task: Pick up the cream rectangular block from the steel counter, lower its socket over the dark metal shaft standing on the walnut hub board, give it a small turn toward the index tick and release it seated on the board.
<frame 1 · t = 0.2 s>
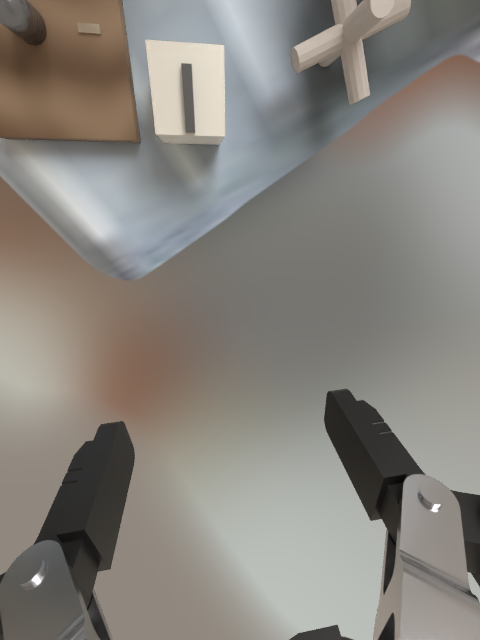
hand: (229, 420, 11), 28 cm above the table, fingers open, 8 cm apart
shaft: (29, 24, 23), resting on hub board
hub board: (59, 65, 26), on the table
pipe connector: (324, 56, 28), on the table
cream rectangular block: (190, 110, 29), on the table
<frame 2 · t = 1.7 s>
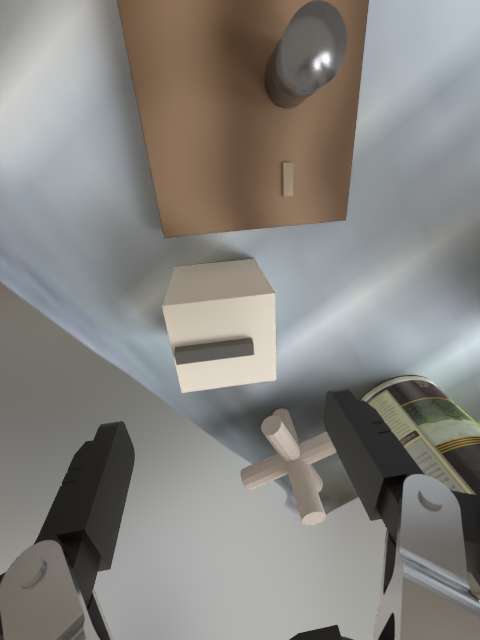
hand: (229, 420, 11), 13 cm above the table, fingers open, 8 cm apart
shaft: (288, 78, 14), resting on hub board
hub board: (246, 111, 17), on the table
pipe connector: (280, 413, 29), on the table
cream rectangular block: (219, 299, 22), on the table
coffee can: (392, 409, 31), on the table
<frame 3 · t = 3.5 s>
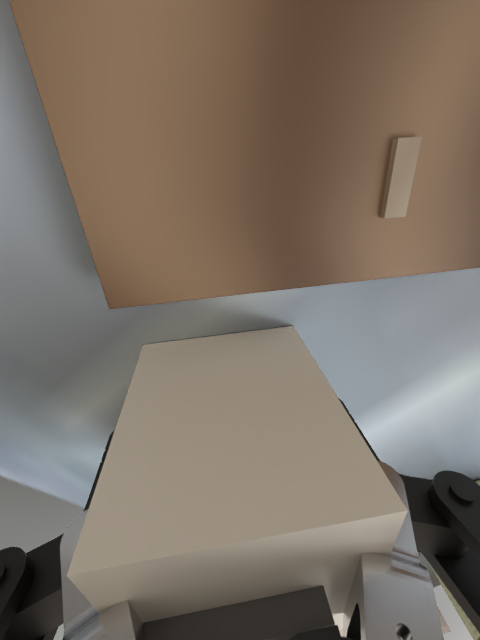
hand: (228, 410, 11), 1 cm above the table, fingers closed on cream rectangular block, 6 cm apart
hub board: (302, 14, 7), on the table
cream rectangular block: (226, 391, 12), on the table, touching gripper
coffee can: (471, 510, 22), on the table
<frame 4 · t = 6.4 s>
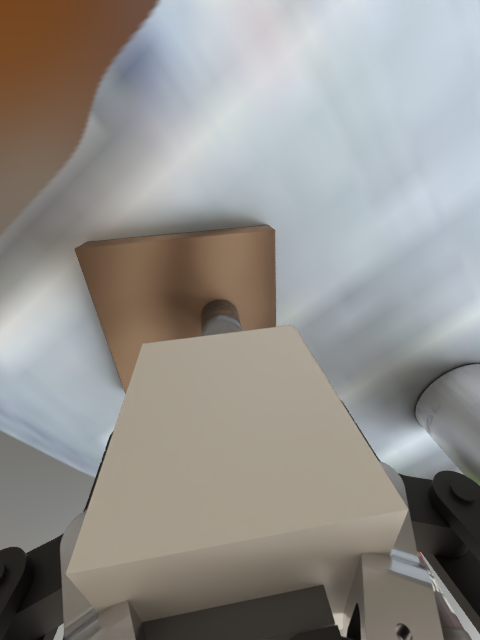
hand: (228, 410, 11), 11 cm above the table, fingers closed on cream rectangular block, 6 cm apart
shaft: (219, 316, 19), resting on hub board
hub board: (194, 319, 21), on the table
cream rectangular block: (226, 391, 12), point 10 cm above the table, touching gripper
coffee can: (341, 494, 36), on the table
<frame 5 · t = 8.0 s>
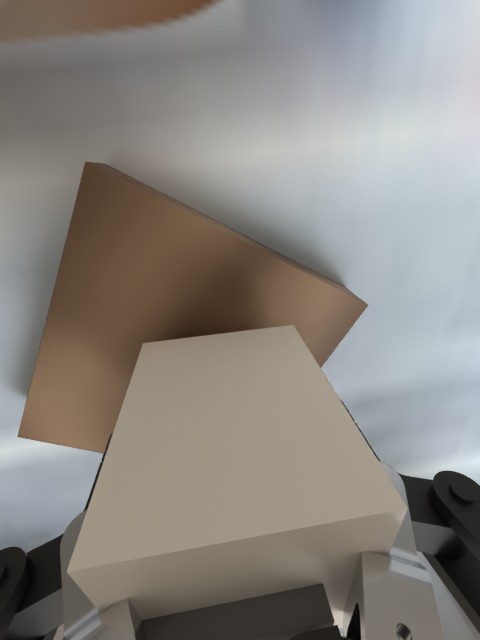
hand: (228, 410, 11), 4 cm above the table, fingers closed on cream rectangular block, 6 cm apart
hub board: (188, 349, 15), on the table
cream rectangular block: (226, 390, 12), point 3 cm above the table, touching gripper
when the fingers open (4 cm above the table, at t = 9.2 s): cream rectangular block stays where it is, resting on hub board.
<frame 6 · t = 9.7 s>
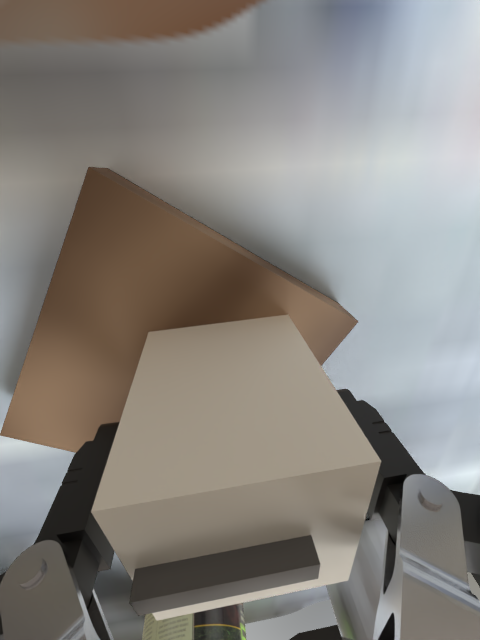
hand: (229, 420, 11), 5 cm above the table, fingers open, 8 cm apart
hub board: (179, 354, 15), on the table
cream rectangular block: (226, 377, 13), point 2 cm above the table, touching hub board
coffee can: (194, 597, 29), on the table
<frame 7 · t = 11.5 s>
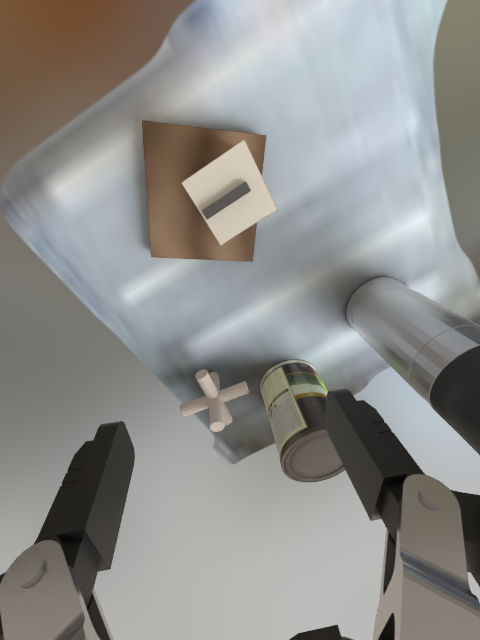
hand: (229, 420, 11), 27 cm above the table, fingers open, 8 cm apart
hub board: (204, 198, 32), on the table
pipe connector: (213, 375, 44), on the table
cream rectangular block: (224, 191, 30), point 2 cm above the table, touching hub board
coffee can: (288, 382, 47), on the table
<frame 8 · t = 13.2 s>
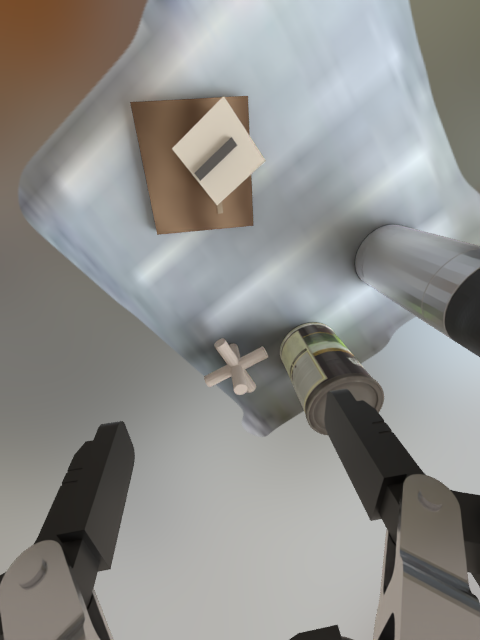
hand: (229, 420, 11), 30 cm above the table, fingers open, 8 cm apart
hub board: (198, 171, 33), on the table
pipe connector: (232, 347, 46), on the table
cream rectangular block: (216, 158, 31), point 2 cm above the table, touching hub board
coffee can: (307, 347, 48), on the table
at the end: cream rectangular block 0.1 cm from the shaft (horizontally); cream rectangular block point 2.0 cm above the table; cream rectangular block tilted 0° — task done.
